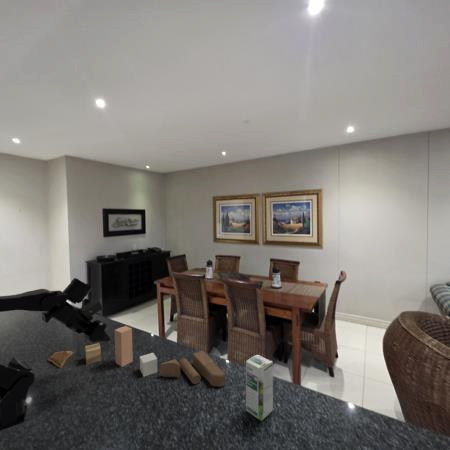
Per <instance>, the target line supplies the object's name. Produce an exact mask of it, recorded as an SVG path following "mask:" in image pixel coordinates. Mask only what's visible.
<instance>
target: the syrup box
mask: <svg viewBox="0 0 450 450" xmlns="http://www.w3.org/2000/svg"><path fill="white" fill-rule="evenodd" d="M273 362H274V361H273V360H270V359H268V358H265V357H264V356H262V355H259V354H256V355H253V356H252V357H250V358H249V359H247V360H246V361H245V381H246V382H245V384H246V385H245V390H246V391H245V399H246V400H245V401H246V403H245V404H246V405H245V406H246V407H245V410H246V412H248V413H249V414H250V415H252V416H254V417H255V418H256V419H258V420H259V421H261V422H262V421H263V420H264V419H265V418H267V416H269V415H270V413H272V412H273V410H274V401H273V400H274V397H273V395H274V393H273V392H274V388H273V387H274V380H273V379H274V378H273V375H274V372H273V370H274V369H273V368H274V363H273Z"/></svg>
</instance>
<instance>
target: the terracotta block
mask: <svg viewBox="0 0 450 450" xmlns="http://www.w3.org/2000/svg"><path fill="white" fill-rule="evenodd" d="M114 344H115V345H114V349H115V354H114V357H115V359H114V360H115V364H117V366H119V367H121V368H123V367H125V366H127V365H128V364H130V363H133V328H132V327H129V326H128V325H124V326H122V327H119V328H116V329H114Z"/></svg>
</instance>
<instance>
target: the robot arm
mask: <svg viewBox="0 0 450 450" xmlns="http://www.w3.org/2000/svg"><path fill="white" fill-rule="evenodd" d="M92 290H93V287H91V286H90V285H89V284H88V283H85V282H83V281H81V280H80V279H79V278H76V277H74V278H73V279H72V280H71V281H70V283H69V284H68V285H67V286H66V287H65V289H63V291H62V290H49V289H47V288H39V289H33V290H30V291H26V292H22V293H19V294H15V295H14V294H12V295H11V294H10V295H0V313H4V312H11V311H28V312H42V313H41V320H42V321H43V322H44V323H49V322H50V321H51V319H54V320H55V321H57V322H59V323H60V324H61V325H64V326H65V328H67V329H69V330H70V331H72V332H75V333H77V334H79V335H81V334H82V333H83V334H84V339H86V340H88V341H89V342H91V343H93V344H95V343H100V342H101V343H102V342H109V341H110V340H111V338H110V336H109V334H108V333H107V332H106V330H105V329H106V328H107V326H108V324H107V323H105V322H104V321H102V320H99V319H96V320H93V319H94V315H95V314H97V313H98V312H100V311H102V310H103V309H104V306H103V304H102V302H101V301H100V300H99V299H97V298H90V299H88V298H86V297H87V296H88V295H89V293H91V291H92ZM68 301H69V302H70V303H69V302H68ZM71 303H72V304H73V305H72V304H71ZM76 304H81V307H80V308H78V307H75V306H74V305H76ZM92 320H93V321H92ZM35 379H36V378H35V373H34V372H33V368H32V367H31V366H30V365H29V364H28V363H27V361H25V360H23V361H22V360H20V359H17V358H16V357H14V356H13V357H12V358H11V359H10V361H1V360H0V430H2V429H5V428H8V427H11V426H14V425H16V424H19V423H22V422H24V421H25V420H26V416H27V412H28V405H25V399H26V398H27V396H28V392H29V390H30V388H31V386H32V385H33V384H34V382H35Z"/></svg>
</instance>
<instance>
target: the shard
mask: <svg viewBox="0 0 450 450" xmlns="http://www.w3.org/2000/svg"><path fill="white" fill-rule="evenodd" d="M72 355H73V351H71V350H64V351H61V350H60V351H56V352H54V354H53V355H51V356H50V357H48V358H47V361H48V362H52V364H53V365H55V366H56V367H58V368H60V369H61V368H63V366H64V365H65V363H66V361H67V360H68V359H69V358H70V357H71V356H72Z"/></svg>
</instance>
